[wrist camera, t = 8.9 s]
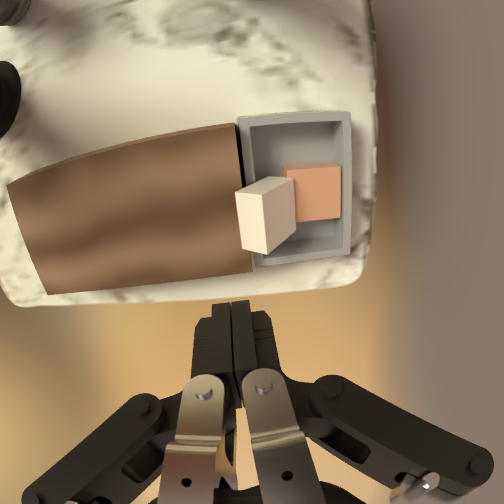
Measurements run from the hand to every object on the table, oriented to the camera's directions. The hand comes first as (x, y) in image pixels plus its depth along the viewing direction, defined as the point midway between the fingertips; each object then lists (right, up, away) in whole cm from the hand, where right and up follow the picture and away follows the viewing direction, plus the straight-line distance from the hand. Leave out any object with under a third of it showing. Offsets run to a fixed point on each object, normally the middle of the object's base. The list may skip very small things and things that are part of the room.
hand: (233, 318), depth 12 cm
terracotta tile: (+6, +8, +14) cm, 18 cm away
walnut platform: (-12, +7, +16) cm, 21 cm away
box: (+5, +10, +17) cm, 20 cm away
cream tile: (+1, +6, +14) cm, 15 cm away
